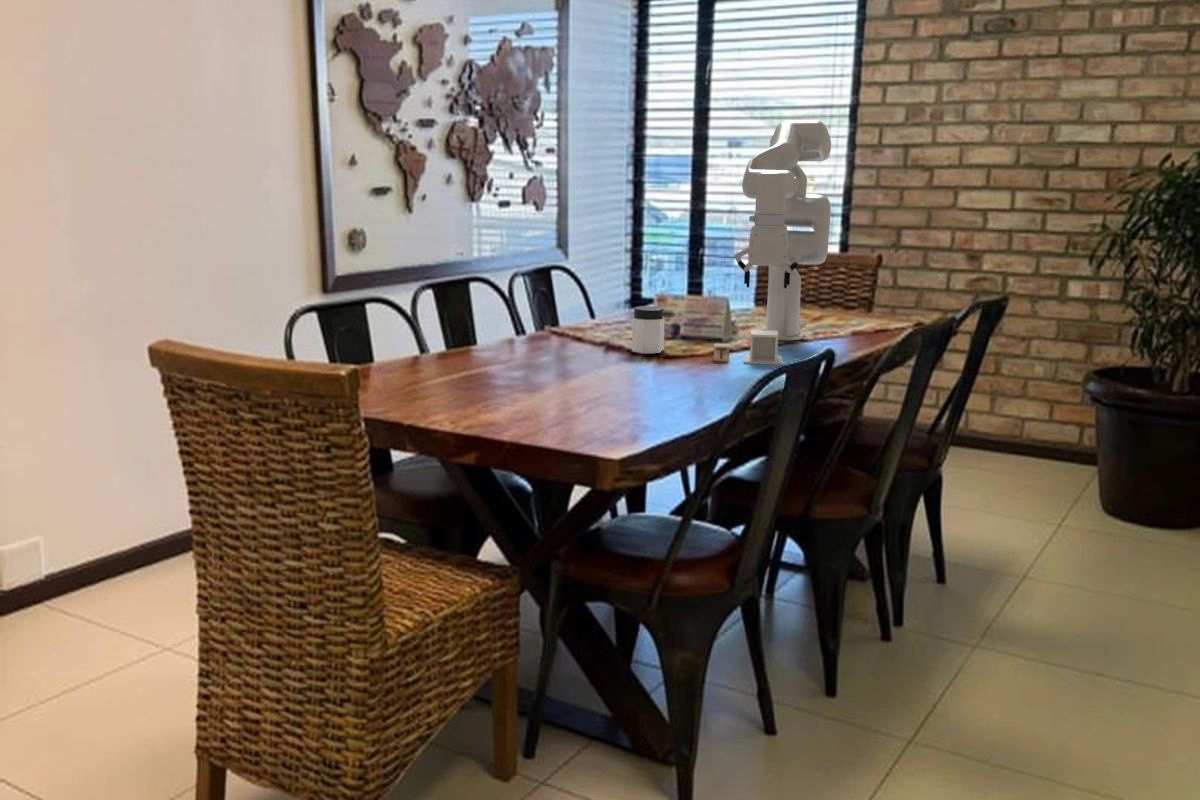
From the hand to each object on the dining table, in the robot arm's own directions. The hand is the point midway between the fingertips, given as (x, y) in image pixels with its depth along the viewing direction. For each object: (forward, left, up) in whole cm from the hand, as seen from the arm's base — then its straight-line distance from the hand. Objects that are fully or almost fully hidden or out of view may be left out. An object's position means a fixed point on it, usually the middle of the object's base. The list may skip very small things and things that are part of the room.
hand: (766, 287), depth 268 cm
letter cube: (+7, -8, -20) cm, 23 cm away
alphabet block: (0, 0, -19) cm, 19 cm away
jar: (+13, -29, -20) cm, 38 cm away
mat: (0, 0, -20) cm, 20 cm away
